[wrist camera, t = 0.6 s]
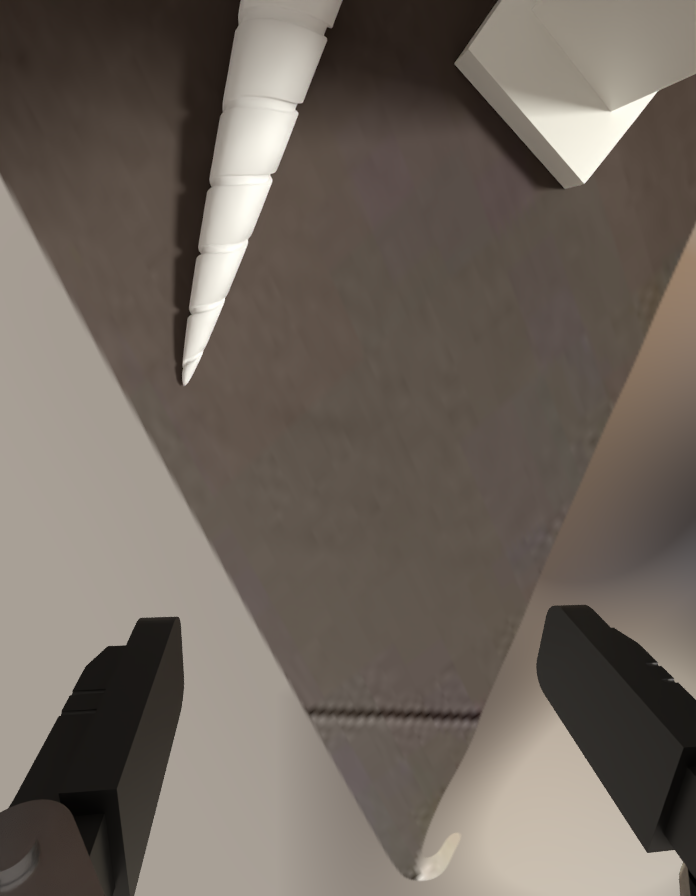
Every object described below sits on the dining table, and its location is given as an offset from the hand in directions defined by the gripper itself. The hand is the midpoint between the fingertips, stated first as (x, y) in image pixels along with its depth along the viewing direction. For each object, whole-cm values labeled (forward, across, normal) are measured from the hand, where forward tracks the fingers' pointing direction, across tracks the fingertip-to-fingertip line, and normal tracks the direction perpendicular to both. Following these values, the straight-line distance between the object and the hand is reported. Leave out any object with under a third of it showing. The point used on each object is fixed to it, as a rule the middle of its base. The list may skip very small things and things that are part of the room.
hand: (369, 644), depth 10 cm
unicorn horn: (+23, +4, -13) cm, 27 cm away
